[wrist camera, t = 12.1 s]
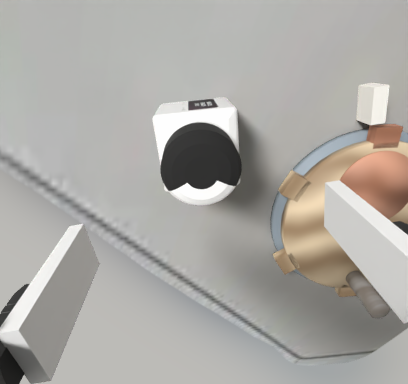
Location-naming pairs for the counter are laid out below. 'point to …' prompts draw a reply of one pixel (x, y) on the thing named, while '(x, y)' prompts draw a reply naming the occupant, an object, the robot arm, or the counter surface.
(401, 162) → the index wheel
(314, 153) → the wheel base
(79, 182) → the counter surface
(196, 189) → the container
